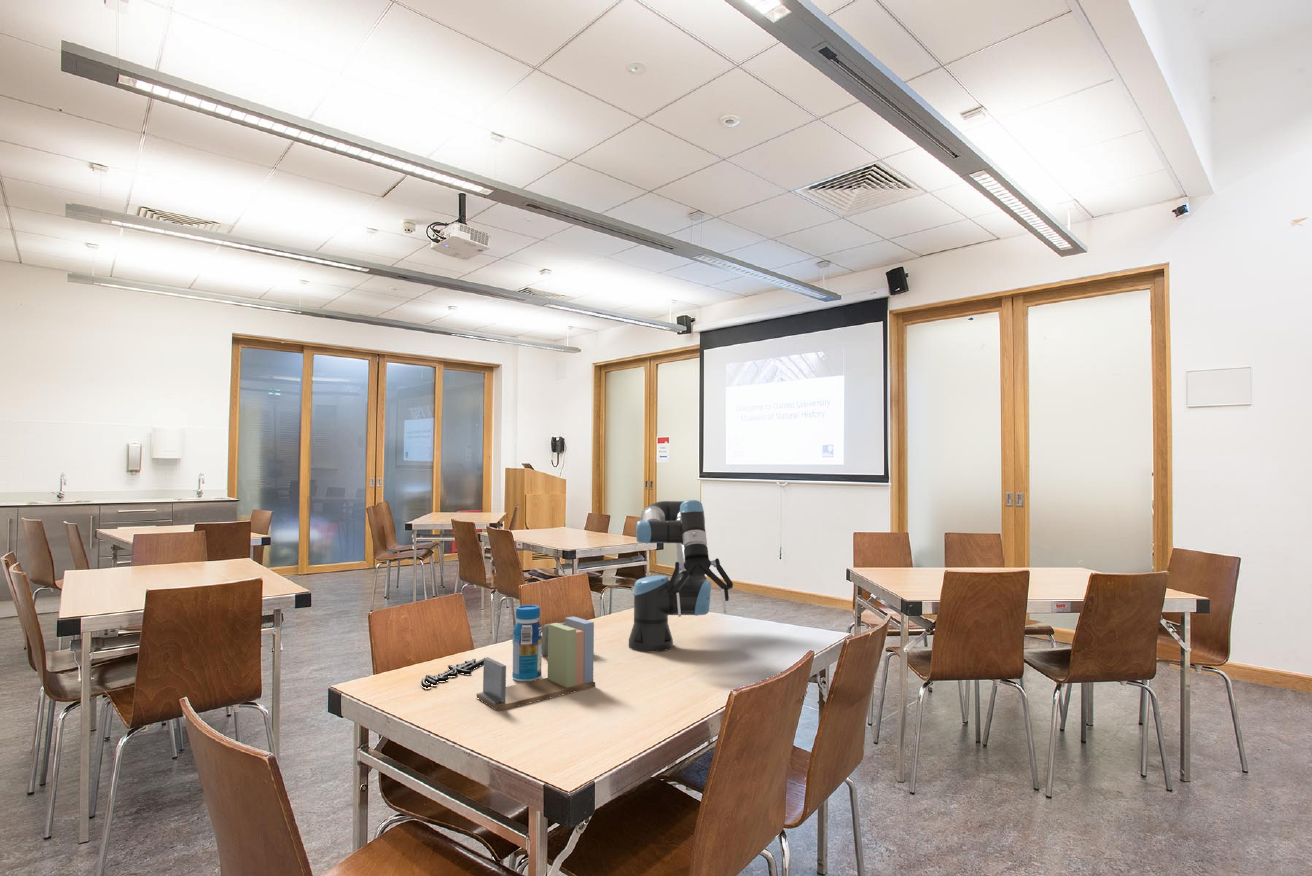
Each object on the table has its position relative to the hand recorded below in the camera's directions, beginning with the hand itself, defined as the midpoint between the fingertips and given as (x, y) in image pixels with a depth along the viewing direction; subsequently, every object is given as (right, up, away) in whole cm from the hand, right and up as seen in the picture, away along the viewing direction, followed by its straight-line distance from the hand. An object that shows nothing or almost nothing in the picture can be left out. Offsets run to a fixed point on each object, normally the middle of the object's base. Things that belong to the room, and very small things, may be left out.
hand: (702, 613), depth 191 cm
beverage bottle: (-51, -16, -8) cm, 54 cm away
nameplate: (-73, -17, -5) cm, 75 cm away
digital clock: (-43, -18, +17) cm, 50 cm away
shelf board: (-45, -15, -20) cm, 52 cm away
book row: (-38, -15, -14) cm, 43 cm away
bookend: (-55, -14, -29) cm, 64 cm away
